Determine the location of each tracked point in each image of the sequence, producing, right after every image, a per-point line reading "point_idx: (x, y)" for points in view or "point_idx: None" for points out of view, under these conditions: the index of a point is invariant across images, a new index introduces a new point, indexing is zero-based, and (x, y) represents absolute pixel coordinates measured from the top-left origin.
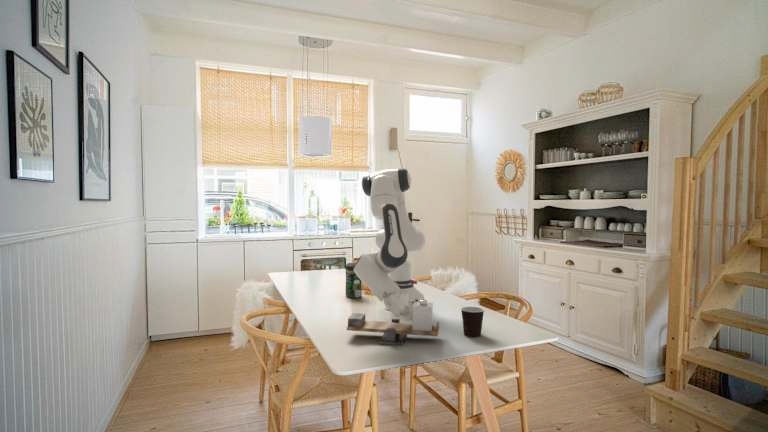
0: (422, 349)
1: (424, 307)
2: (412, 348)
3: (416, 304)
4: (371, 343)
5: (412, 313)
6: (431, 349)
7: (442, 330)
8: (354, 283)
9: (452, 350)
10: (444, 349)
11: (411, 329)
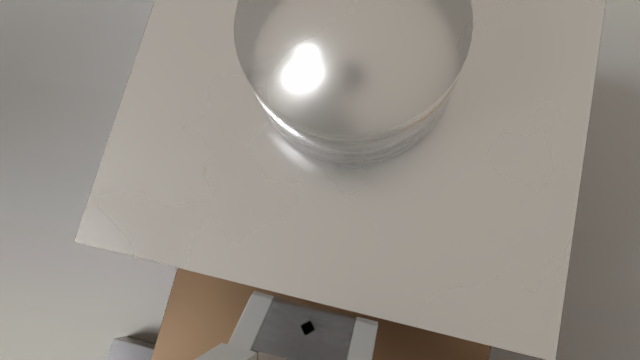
0: (626, 250)
1: (589, 74)
2: (603, 340)
3: (370, 235)
4: None
5: (261, 308)
6: (621, 170)
7: (117, 4)
8: None
9: (637, 5)
10: (615, 63)
11: (413, 332)
